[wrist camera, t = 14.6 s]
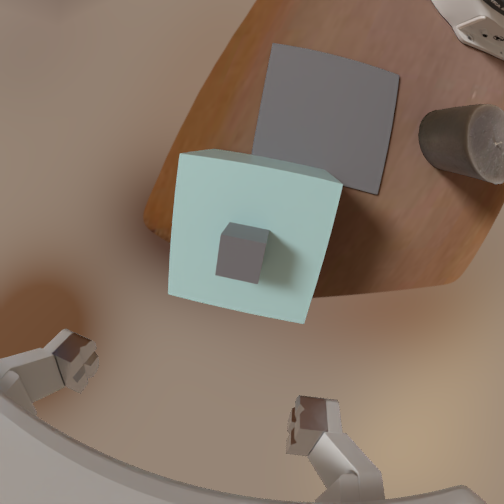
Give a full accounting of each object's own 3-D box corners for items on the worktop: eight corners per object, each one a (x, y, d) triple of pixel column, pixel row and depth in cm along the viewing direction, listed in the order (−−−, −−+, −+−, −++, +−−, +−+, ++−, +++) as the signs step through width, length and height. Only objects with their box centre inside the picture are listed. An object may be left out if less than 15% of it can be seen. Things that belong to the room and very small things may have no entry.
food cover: (325, 170, 39) (351, 191, 23) (300, 271, 45) (304, 346, 29) (214, 148, 40) (163, 156, 23) (200, 250, 46) (154, 312, 29)
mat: (398, 75, 33) (399, 75, 33) (376, 194, 40) (377, 194, 39) (272, 44, 34) (272, 43, 34) (249, 165, 41) (249, 165, 40)
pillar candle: (409, 116, 35) (462, 109, 21) (456, 105, 33) (514, 98, 19) (427, 177, 38) (482, 196, 24) (472, 162, 36) (531, 176, 22)
